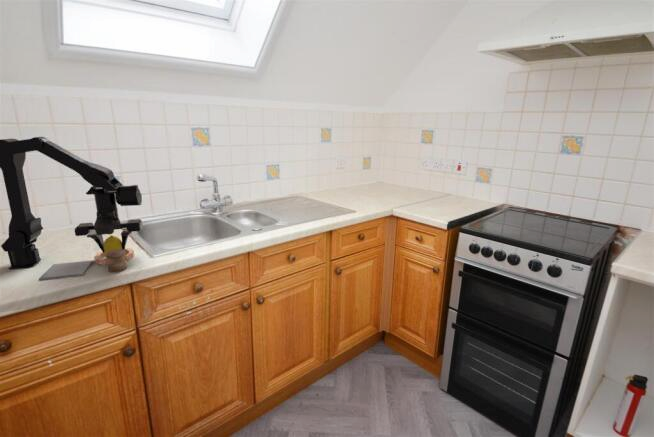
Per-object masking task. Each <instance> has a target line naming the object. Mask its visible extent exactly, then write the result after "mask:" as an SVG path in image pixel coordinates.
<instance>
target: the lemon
mask: <svg viewBox="0 0 654 437" xmlns="http://www.w3.org/2000/svg"><path fill="white" fill-rule="evenodd" d="M103 241H104V251H105V253H106V252H108V251H110V250H115V249H122V239H121V238H119V237H118V236H114V235H113V234H110V235H109V236H108V237H107V238H105V240H103Z"/></svg>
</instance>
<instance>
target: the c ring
mask: <svg viewBox="0 0 654 437" xmlns="http://www.w3.org/2000/svg"><path fill="white" fill-rule="evenodd" d="M134 256H135V250H134V249H133V248H131V247H125V258H126V262H127V261H129V260H130V259H133V258H134ZM104 257H105V258H104ZM93 259H94V260H93V261H94V262H95V263H97V264H98V265H108V263H107V258H106V256H105V253H103V252H102V251H100V252H97V253H96V254H95V255H94V256H93Z"/></svg>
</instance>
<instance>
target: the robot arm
mask: <svg viewBox="0 0 654 437" xmlns="http://www.w3.org/2000/svg"><path fill="white" fill-rule="evenodd" d="M30 152H38V153H41V154H42V155H44V156H46V157H48V158H50V159H51V160H54V161H56V163H60V164H61V165H63V166H65V167H67V168H68V169H71V170H72V171H74V172H76V173H77V174H78V175H80V177H81V178H82V179H83V180H84V181H86V182H87V183H88V184H90V185H91V187H90V188H89V190H87V191H86V192H85V195H94V202H95V208H96V218H95V222H94V223H93V222H84V223H83V222H82V223H79V224H78V225H77V226H76V227H75V228H74V235H75V237H81V236H84V237H85V236H86V238H90V239H92V240H93V241H95V243H96V244H97V246H98V247H99V249H100V251H101V252H103V253H105V251H104V241H105V240H104V237H103V235H113V234H114V233H115V230H122V231H121V233H120V236H121V242H122V249H124V250H125V248H126V245H127V241H128V238H129V235H131V234H132V233H133V232H140V231H141V230H142V228H143V226H144V225H143V221H142V220H141V219H140V218H139V219H138V218H136V219H129V220H128V221H127V222H122V223H121V219H120V218H119V212H118V211H119V210H118V206H117V205H120V206H121V207H129V206H130V207H132V206H133V207H135V206H141V205H142V203H143V202H142V201H143V197H142V196H143V195H142V193H141V190H140V189H139V185H138V184H132V185H124V184H122V182H120V181H119V180H118V179H117V178H116V177H115V174H114V171H112V170H111V168H108V167H106V166H103V165H101V164H96V163H93V162H90V161H87V160H85V159H84V158H81V157H80V156H78V155H76V154H75V153H73V152H71V151H69V150H67V149H65V148H63V147H62V146H60V145H58V144H56V143H54V142H53V141H51V140H49V139H48V138H47V137H45V136H35V137H31V138H28V139H20V140H19V139H16V138H11V137H10V138H3V139H0V169H1V172H2V177H3V181H4V186H5V192H6V195H7V201H8V205H9V210H10V215H11V217H10V221H9V224H8V238H7V239H6V240H5V241H4V242H3V243H2V244H1V245H0V248H1V249H2V250H3V251H4V252H5V253H6V252H7V256H8V259H9V263H10V266H8V267H7V268H8V270H13V269H24V268H31V267H34V266H35V265H37V264H38V263H39V262H41V260H42V258H41V257H40V252H39V249H38V248H36V242H37V241H38V237H39V236H40V235H41V234H42V230H44V227H43V226H42V219H41V218H42V217H35V216H34V214H32V211H31V206H30V200H29V193H28V190H27V184H26V180H25V174H24V170H23V169H24V165H25V162H26V155H27V154H26V153H30Z"/></svg>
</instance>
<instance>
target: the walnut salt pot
mask: <svg viewBox="0 0 654 437" xmlns="http://www.w3.org/2000/svg"><path fill="white" fill-rule="evenodd" d="M125 255H126V253H125V250H124V249H115V250H110V251H108V252H106V253H105V258H107V268H108V272H109V273H121V272H124V271H126V270H127V268H128V264H127V261H126V258H125Z"/></svg>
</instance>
